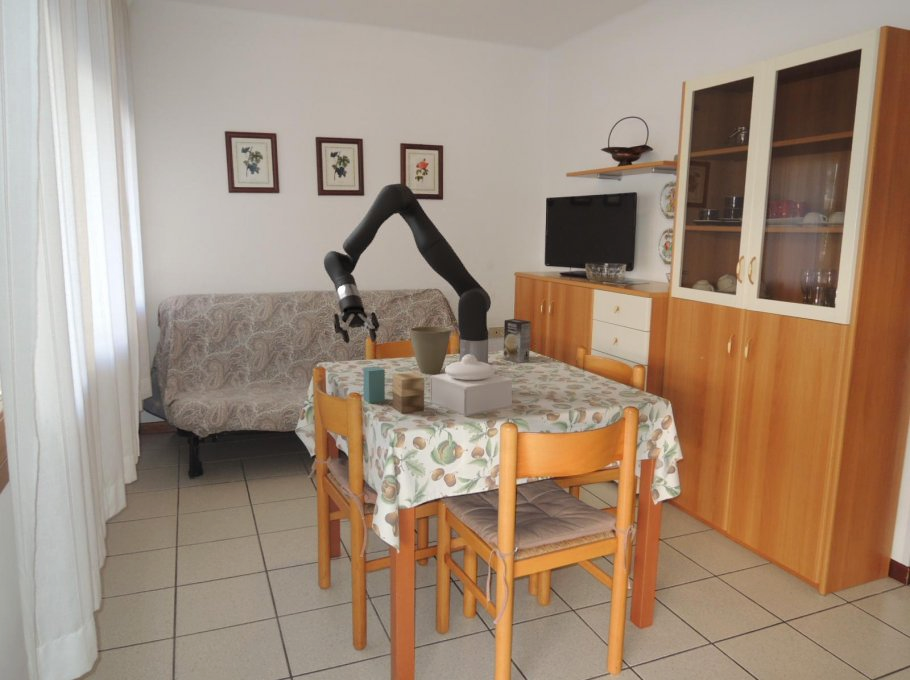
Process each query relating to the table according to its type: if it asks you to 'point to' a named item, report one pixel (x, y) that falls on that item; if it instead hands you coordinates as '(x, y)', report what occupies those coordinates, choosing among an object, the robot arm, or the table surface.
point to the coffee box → (516, 340)
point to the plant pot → (430, 347)
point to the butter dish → (470, 388)
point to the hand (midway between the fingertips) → (361, 341)
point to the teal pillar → (374, 384)
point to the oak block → (408, 384)
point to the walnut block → (408, 403)
